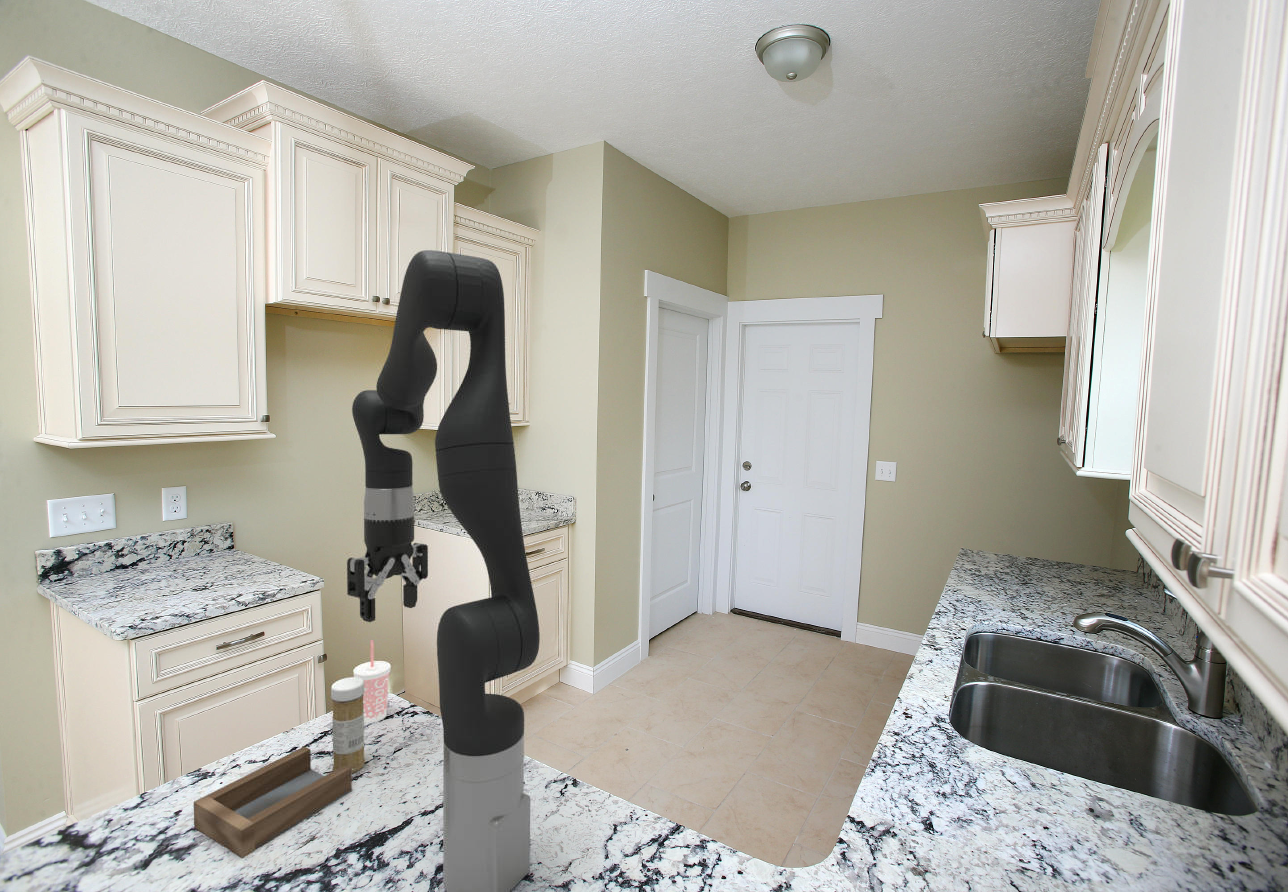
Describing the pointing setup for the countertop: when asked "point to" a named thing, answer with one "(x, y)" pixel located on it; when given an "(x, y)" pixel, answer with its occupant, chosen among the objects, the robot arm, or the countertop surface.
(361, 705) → the sprinkles bottle
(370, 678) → the beverage cup
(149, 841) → the countertop surface
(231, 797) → the u rest
